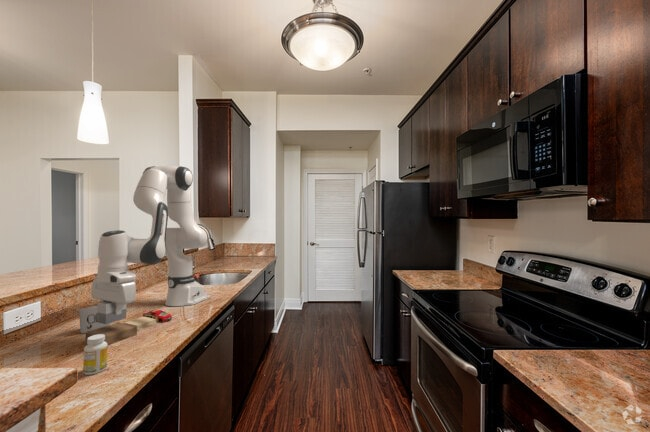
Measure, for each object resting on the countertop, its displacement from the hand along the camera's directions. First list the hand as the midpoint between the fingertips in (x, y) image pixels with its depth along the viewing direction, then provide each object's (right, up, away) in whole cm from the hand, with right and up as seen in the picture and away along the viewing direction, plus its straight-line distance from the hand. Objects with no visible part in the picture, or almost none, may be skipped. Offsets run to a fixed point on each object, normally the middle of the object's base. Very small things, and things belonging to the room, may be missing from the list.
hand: (112, 312), depth 105 cm
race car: (+5, -10, +20) cm, 23 cm away
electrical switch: (-13, -9, +8) cm, 18 cm away
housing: (0, -3, 0) cm, 3 cm away
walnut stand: (0, -9, 0) cm, 9 cm away
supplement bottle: (+12, -9, -23) cm, 27 cm away
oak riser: (+3, -9, +12) cm, 15 cm away
